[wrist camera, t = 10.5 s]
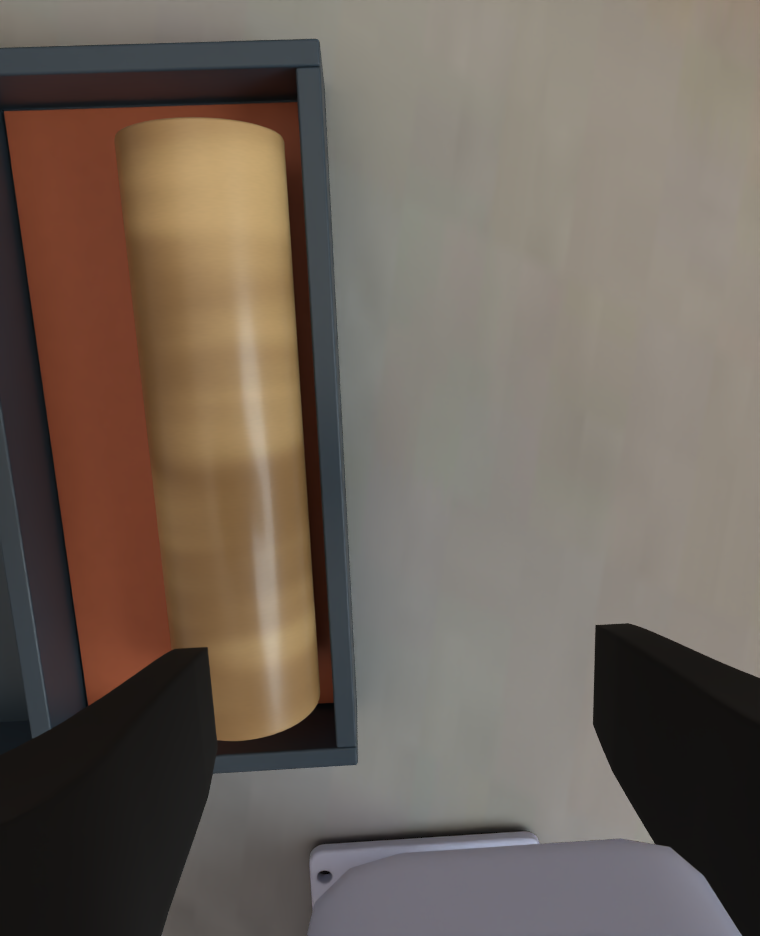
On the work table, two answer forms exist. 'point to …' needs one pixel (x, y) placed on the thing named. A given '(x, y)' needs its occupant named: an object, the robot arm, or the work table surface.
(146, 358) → the rolling pin
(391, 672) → the work table surface
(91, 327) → the tray
